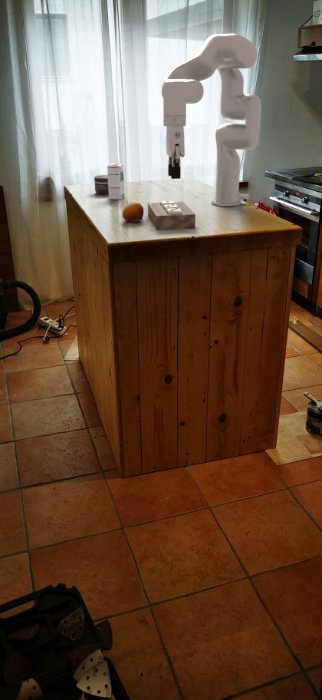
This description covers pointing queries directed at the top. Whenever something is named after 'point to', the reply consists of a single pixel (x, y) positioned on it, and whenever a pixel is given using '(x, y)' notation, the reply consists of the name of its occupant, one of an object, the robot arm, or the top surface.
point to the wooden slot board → (171, 217)
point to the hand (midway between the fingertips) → (174, 176)
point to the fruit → (133, 212)
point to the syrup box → (115, 181)
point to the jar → (101, 184)
